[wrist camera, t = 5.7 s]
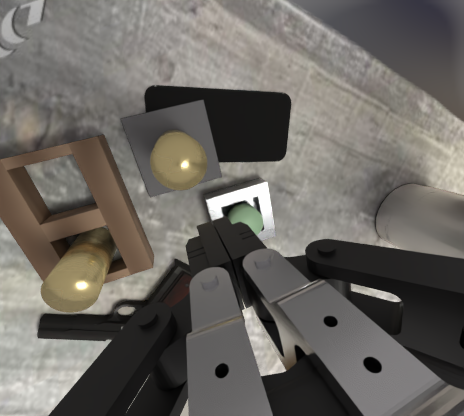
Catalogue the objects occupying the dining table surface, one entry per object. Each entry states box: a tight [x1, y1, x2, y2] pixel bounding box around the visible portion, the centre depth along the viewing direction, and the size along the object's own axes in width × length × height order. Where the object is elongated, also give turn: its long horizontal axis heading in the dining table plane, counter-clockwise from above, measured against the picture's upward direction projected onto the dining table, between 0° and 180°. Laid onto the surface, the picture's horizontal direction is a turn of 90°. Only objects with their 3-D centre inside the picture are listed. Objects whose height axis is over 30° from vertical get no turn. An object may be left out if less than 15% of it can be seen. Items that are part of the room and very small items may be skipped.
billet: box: [150, 130, 207, 190], centre depth 21 cm, size 4×4×8 cm
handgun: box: [37, 259, 192, 341], centre depth 29 cm, size 2×17×12 cm
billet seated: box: [41, 227, 117, 312], centre depth 22 cm, size 4×4×8 cm
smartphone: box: [145, 85, 291, 162], centre depth 25 cm, size 7×1×15 cm
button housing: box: [204, 178, 276, 241], centre depth 28 cm, size 7×7×2 cm
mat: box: [121, 100, 222, 197], centre depth 25 cm, size 8×8×1 cm
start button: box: [227, 203, 263, 235], centre depth 27 cm, size 4×4×2 cm
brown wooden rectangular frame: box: [0, 135, 154, 284], centre depth 24 cm, size 10×14×2 cm
